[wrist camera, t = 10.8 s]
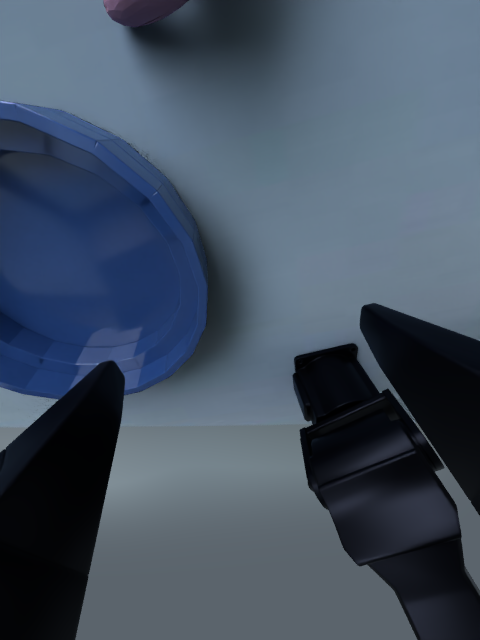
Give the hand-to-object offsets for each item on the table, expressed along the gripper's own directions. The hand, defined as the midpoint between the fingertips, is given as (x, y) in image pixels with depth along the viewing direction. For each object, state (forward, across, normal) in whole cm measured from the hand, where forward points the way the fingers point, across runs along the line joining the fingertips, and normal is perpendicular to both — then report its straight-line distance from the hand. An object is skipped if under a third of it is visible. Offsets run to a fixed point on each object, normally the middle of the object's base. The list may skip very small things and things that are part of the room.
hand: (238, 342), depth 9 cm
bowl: (+11, +11, 0) cm, 15 cm away
